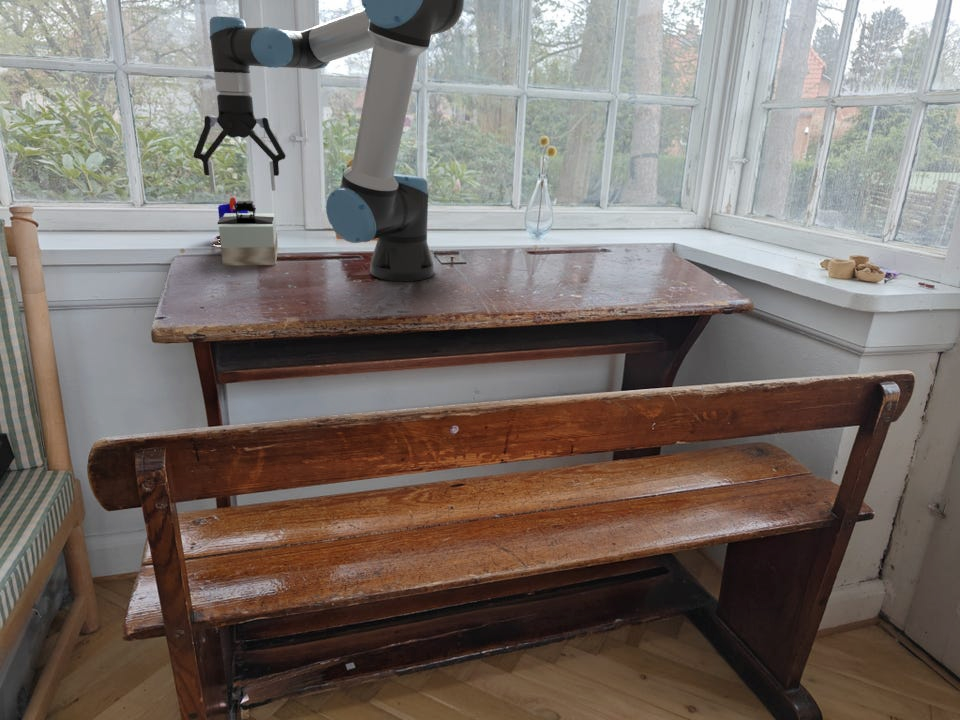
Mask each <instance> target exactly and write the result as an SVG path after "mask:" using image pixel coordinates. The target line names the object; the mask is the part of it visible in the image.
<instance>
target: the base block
mask: <svg viewBox="0 0 960 720" xmlns="http://www.w3.org/2000/svg"><path fill="white" fill-rule="evenodd" d="M220 251H221V253H220V254H221V261H222V266H276V265H277V257H278V252H279V243H278V233H277V232H276V236H275V246H274V247H246V248H221V247H220ZM275 264H276V265H275Z"/></svg>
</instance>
